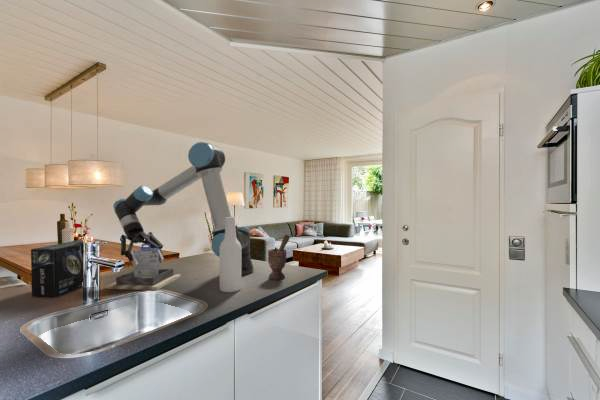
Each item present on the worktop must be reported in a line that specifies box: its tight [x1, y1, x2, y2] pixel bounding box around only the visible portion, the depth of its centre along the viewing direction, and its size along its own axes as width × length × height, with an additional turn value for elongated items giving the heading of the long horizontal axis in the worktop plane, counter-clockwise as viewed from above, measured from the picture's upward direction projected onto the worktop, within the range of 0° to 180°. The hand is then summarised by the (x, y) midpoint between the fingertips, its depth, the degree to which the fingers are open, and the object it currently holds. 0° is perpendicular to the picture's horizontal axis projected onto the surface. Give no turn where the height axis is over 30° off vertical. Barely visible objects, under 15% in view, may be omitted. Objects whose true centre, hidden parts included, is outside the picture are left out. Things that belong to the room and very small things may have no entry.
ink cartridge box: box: [133, 243, 160, 277], centre depth 132 cm, size 10×6×14 cm, turn 119°
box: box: [30, 239, 84, 299], centre depth 123 cm, size 23×10×19 cm, turn 175°
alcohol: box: [219, 216, 242, 293], centre depth 121 cm, size 9×9×30 cm
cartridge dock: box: [106, 268, 182, 291], centre depth 132 cm, size 22×20×4 cm
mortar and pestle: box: [267, 234, 291, 281], centre depth 140 cm, size 12×9×20 cm
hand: (149, 263), depth 130 cm, fingers open, 11 cm apart
